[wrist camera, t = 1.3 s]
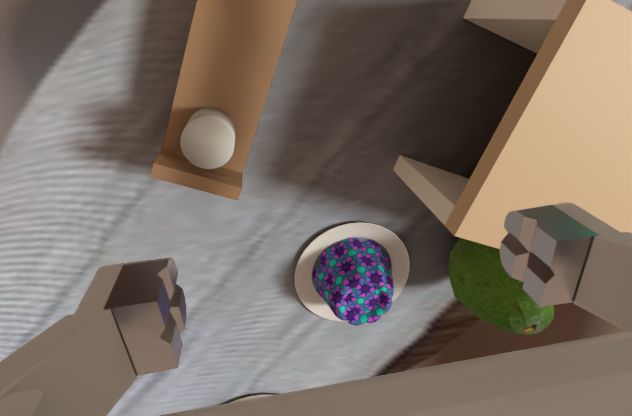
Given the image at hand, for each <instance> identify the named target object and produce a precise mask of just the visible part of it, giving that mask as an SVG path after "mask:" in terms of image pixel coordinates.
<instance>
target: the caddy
mask: <svg viewBox="0 0 632 416" xmlns="http://www.w3.org/2000/svg"><path fill="white" fill-rule="evenodd" d="M296 3H297V0H197V3H196V7H195V11H194V15H193V20H192V24H191V28H190V32H189V37H188V41H187V45H186V49H185V54H184V58H183V62H182V66H181V71H180V75H179V79H178V83H177V88H176V92H175V96H174V101H173V105H172V109H171V113H170V118H169V122H168V126H167V130H166V135H165V139H164V143H163V147H162V150H161V152H160V154H159V155H158V157H157V158H156V160H155V161H154V163H153V167H152V171H151V176H150V177H153V178H157V179H161V180H164V181H168V182H172V183H175V184H179V185H183V186H186V187H190V188H194V189H198V190H201V191H205V192H209V193H212V194H216V195H220V196H223V197H227V198H231V199H235V200H238V199H239V195H240V192H241V189H242V173H243V170H244V166H245V163H246V160H247V157H248V154H249V151H250V148H251V145H252V141H253V138H254V135H255V132H256V129H257V126H258V123H259V119H260V116H261V113H262V110H263V107H264V104H265V101H266V97H267V94H268V91H269V88H270V85H271V82H272V79H273V75H274V72H275V69H276V66H277V63H278V60H279V57H280V53H281V50H282V47H283V44H284V41H285V38H286V35H287V31H288V28H289V25H290V22H291V19H292V16H293V13H294V10H295V6H296Z"/></svg>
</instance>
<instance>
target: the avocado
mask: <svg viewBox="0 0 632 416" xmlns="http://www.w3.org/2000/svg"><path fill="white" fill-rule="evenodd" d="M499 252H500V249H498V248H494V247H491V246H487V245H484V244H480V243H477V242H473V241H470V240H466V239H463V238H460V239H459V240H458V241H457V242H456V244H455V245H454V246H453V248H452V250H451V252H450V255H449V262H448V274H449V278H450V281H451V285H452V288H453V292H454V295H455V297H456V298H457V299H458V300H459V301H460V302H461V303H462V304H463V305H464V306H465V307H466V308H467V309H468V310H469V311H471V312H472V313H473V314H474V315H475V316H477V317H478V318H480V319H482V320H484V321H486V322H487V323H490V324H492V325H493V326H496V327H497V328H499V329H501V330H504V331H506V332H509V333H513V334H519V335H530V334H535V333H539V332H541V331H542V330H543V329H545V328H546V327H548V325H549V324H550V323H551V321H552V319H553V316H554V306H553V305H549V306H542V307H540V306H539V305H538V304H537V303H536V302H535V301H534V300H533V299H532V298H531V297H530V296H529V295H528V294H527V293H526V292H525V291H524V290H523V289H522V288H523V282H521V281H519V280H517V279H514V278H512V277H511V276H510V275H509V274H508V273H507V272H506V271H505V269H504V267H503V265H502V263H501V258H500V254H499Z"/></svg>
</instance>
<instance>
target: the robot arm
mask: <svg viewBox="0 0 632 416" xmlns="http://www.w3.org/2000/svg"><path fill="white" fill-rule="evenodd" d="M504 228H505V229H506V231H507V232H508V234H507V235H506V236H505V238H504V239H503V240H502V241H501V245H500V252H499V254H500V258H501V263H502V265H503V267H504V269H505V271H506V272H507V273H508V274H509V275H510V276H511V277H512V278H514V279H517V280H519V281H521V282H523V288H522V289H523V290H524V291H525V292H526V293H527V294H528V295H529V296H530V297H531V298H532V299H533V300H534V301H535V302H536V303H537V304H538V305H539V306H540V307H542V306H549V305H556V304H563V303H570V302H574V304H575V305H577V306H579V307H581V308H583V309H585V310H587V311H589V312H591V313H593V314H595V315H597V316H598V317H601V318H602V319H604V320H606V321H608V322H610V323H612V324H614V325H616V326H618V327H620V328H622V329H623V330H625V332H620V333H614V334H608V335H603V336H598V337H592V338H586V339H581V340H575V341H570V342H564V343H559V344H553V345H547V346H542V347H536V348H531V349H525V350H520V351H514V352H509V353H503V354H498V355H492V356H487V357H481V358H476V359H470V360H464V361H459V362H453V363H448V364H443V365H437V366H431V367H426V368H421V369H415V370H410V371H404V372H399V373H393V374H388V375H382V376H377V377H371V378H366V379H360V380H355V381H349V382H344V383H338V384H333V385H327V386H322V387H316V388H310V389H305V390H299V391H294V392H288V393H283V394H277V395H255V396H249V397H244V398H241V399H238V400H235V401H232V402H230V403H227V404H222V405H216V406H211V407H205V408H200V409H194V410H189V411H183V412H178V413H172V414H166V415H161V416H632V233H630V232H619V231H618V230H616V229H614V228H613V227H611V226H609V225H608V224H606V223H605V222H603V221H601V220H600V219H598V218H596V217H595V216H593V215H592V214H590V213H588V212H587V211H585V210H583V209H582V208H580V207H579V206H577V205H575V204H574V203H569V202H563V203H557V204H552V205H547V206H541V207H535V208H529V209H522V210H516V211H510V212H509V213H508V214H507V216H506V218H505V223H504ZM177 276H178V271H177V268H176V265H175V261H174V260H173V259H172V258H164V259H155V260H147V261H138V262H130V263H120V264H114V265H107V266H103V267H100V268H99V269H98V271H97V273H96V274H95V276H94V278H93V280H92V282H91V284H90V286H89V287H88V289H87V291H86V293H85V295H84V297H83V299H82V301H81V302H80V304H79V306H78V308H77V310H76V312H75V314H73V315H67V316H65V317H64V318H62V319H61V320H59V321H58V322H57V323H55V324H54V325H52V326H51V327H49V328H48V329H47V330H45V331H44V332H42V333H41V334H39V335H38V336H37V337H35V338H34V339H32V340H31V341H29V342H28V343H27V344H25V345H24V346H22V347H21V348H19V349H18V350H17V351H15V352H14V353H12V354H11V355H9V356H8V357H7V358H5V359H4V360H2V361H1V362H0V416H106V415H107V414H108V413H109V411H110V410H111V409H112V408H113V406H114V405H115V404H116V403H117V402H118V400H119V399H120V398H121V397H122V395H123V394H124V393H125V392H126V391H127V389H128V388H129V387H130V386H131V385H132V383H133V382H134V381H135V380H136V378H137V377H136V376H138V375H143V374H149V373H154V372H159V371H164V370H169V369H174V368H178V365H179V359H180V354H181V348H182V341H181V338H180V333H181V332H182V331H183V330H184V329H185V324H186V303H185V297H184V293H183V289H182V288H181V287H180V286H178V285H177V284H176V280H177Z"/></svg>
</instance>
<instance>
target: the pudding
mask: <svg viewBox="0 0 632 416" xmlns="http://www.w3.org/2000/svg"><path fill="white" fill-rule="evenodd" d="M349 237H365V238H369V239H372V240H374V241H371V240H368V241H364V242H361V241H360V240H358V239H357V238H349ZM345 238H348V239H345ZM342 239H345V240H342ZM339 240H342V242H341V243H340V244H339V245H338V246H337V247H329V248H327V247H328V246H330V245H331V244H333V243H335V242H337V241H339ZM375 241H376V242H375ZM377 242H378V243H379V244H381V245H382V246H383V247H384V248H385V249H386V250H387V252H388V254H389V256H390V259H391V262H390V259H389V257H388V255H387V254H384V253H382V252H381V247H380V245H379V244H378V243H377ZM326 248H327V249H326ZM325 249H326V250H325ZM323 250H324V251H323ZM322 252H323V253H322ZM321 253H322V254H321ZM320 254H321V256H320V264H319V265H317V266H316V267H315V268H314V271H313V279H314V281H315V282H316V284H317V285H318V289H317V290H318V292H319V294H320V295H321V296H320V295H319V294H318V293H317V291H316V290H315V288H314V286H313V282H312V270H313V266H314V263H315V261H316V259H317V258H318V256H319V255H320ZM391 264H392V268H391ZM409 270H410V260H409V255H408V252H407V249H406V247H405V245H404V244H403V242H402V240H401V239H400V238H399V237H398V236H397V235H396V234H394V233H393V232H391V231H390V230H389V229H386V228H384V227H382V226H380V225H376V224H371V223H360V222H359V223H349V224H345V225H341V226H337V227H335V228H333V229H330V230H328V231H326V232H325V233H323V234H321V235H320V236H318V237H317V238H316V239H315V240H314V241H312V242H311V243H310V244H309V245H308V247H307V248H306V249H305V250H304V252H303V253H302V255H301V257H300V258H299V261H298V263H297V266H296V270H295V276H294V279H295V288H296V291H297V294H298V296H299V298H300V300H301V302H302V303H303V304H304V305H305V306H306V308H308V309H309V310H310V311H311V312H313V313H314V314H316V315H318V316H320V317H322V318H325V319H328V320H334V321H348V322H349V323H350V324H352V325H362V324H363V323H365V322H367V323H373V322H376V321H377V320H378V319H380V317H381V314H384V313H386V312H387V311H388V310H389V309H390V307H391V304H392V302H393V301H394V300H395V299H396V298H397V297H398V295H399V294H400V293H401V291H402V290H403V288H404V286H405V284H406V282H407V279H408V276H409Z"/></svg>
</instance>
